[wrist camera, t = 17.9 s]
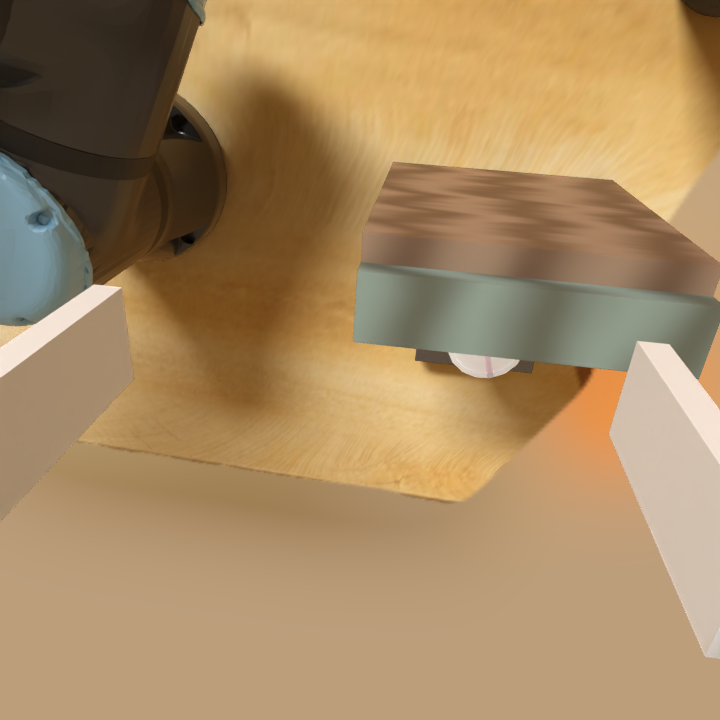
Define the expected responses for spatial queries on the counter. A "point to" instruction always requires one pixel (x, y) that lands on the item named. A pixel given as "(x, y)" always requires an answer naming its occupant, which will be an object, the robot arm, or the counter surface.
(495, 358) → the beverage cup
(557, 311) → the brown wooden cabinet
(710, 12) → the travel mug
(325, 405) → the counter surface
